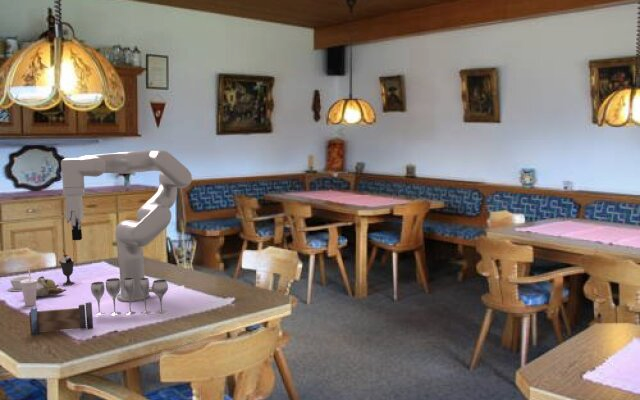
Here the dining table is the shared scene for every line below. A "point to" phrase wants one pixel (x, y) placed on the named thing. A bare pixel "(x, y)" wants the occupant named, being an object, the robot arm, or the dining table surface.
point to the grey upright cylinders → (35, 318)
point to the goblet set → (128, 291)
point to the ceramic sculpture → (47, 287)
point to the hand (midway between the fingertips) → (77, 239)
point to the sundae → (67, 268)
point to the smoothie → (29, 290)
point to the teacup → (17, 283)
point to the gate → (61, 319)
